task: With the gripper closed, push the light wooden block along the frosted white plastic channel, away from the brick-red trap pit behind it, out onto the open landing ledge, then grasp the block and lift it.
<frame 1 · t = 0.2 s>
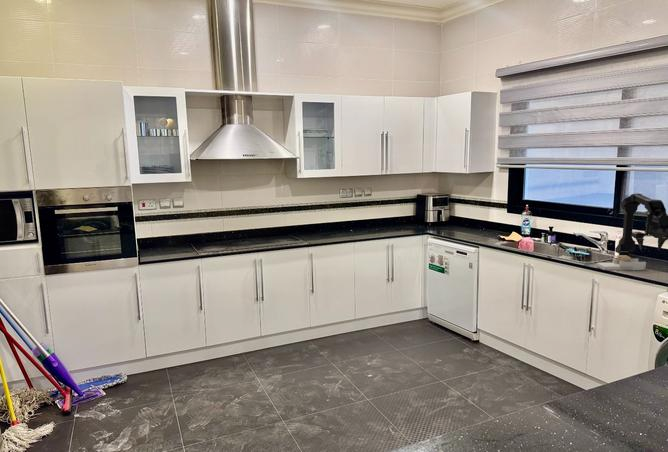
hand: (650, 249, 255), 14 cm above the counter, tool pointing down, fingers open, 9 cm apart
wooden block: (623, 264, 271), point 2 cm above the counter, touching trap channel
trap channel: (624, 267, 271), on the counter
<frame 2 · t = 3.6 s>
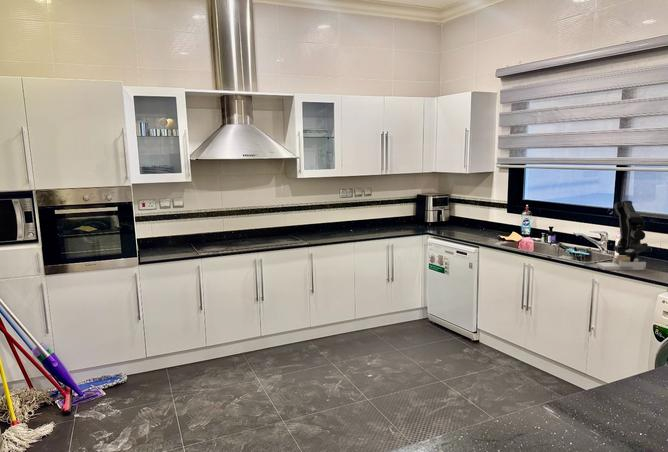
hand: (631, 262, 270), 3 cm above the counter, tool pointing down, fingers closed
wooden block: (622, 264, 271), point 2 cm above the counter, touching gripper, trap channel
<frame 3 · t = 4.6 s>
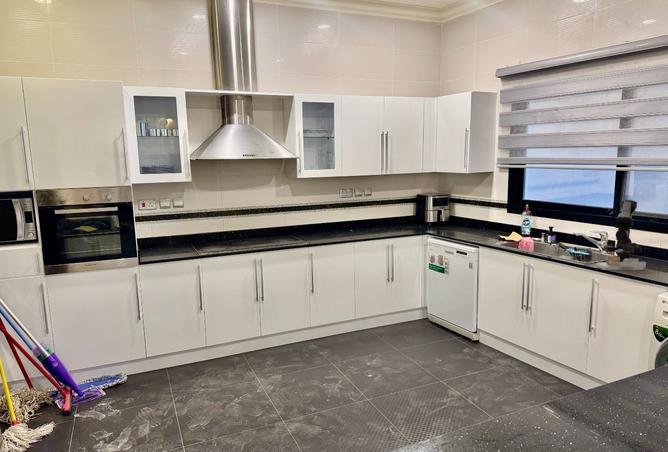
hand: (621, 262, 271), 3 cm above the counter, tool pointing down, fingers closed
wooden block: (612, 264, 271), point 2 cm above the counter, touching gripper
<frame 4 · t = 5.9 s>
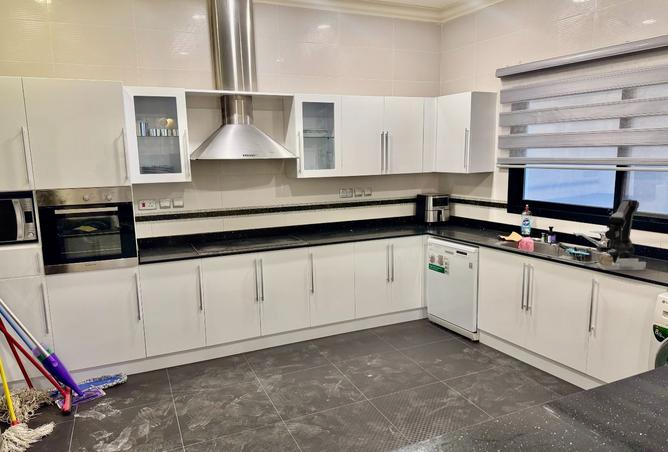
hand: (614, 262, 271), 3 cm above the counter, tool pointing down, fingers closed
wooden block: (605, 264, 272), point 2 cm above the counter, touching gripper, trap channel
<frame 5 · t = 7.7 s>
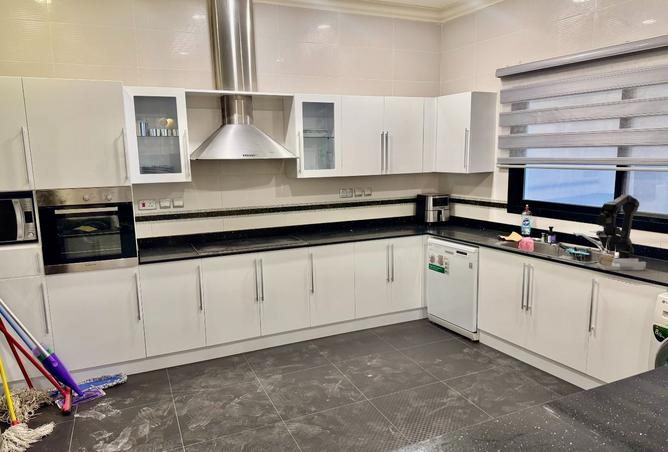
hand: (607, 249, 270), 11 cm above the counter, tool pointing down, fingers open, 7 cm apart
wooden block: (605, 264, 272), point 2 cm above the counter, touching trap channel
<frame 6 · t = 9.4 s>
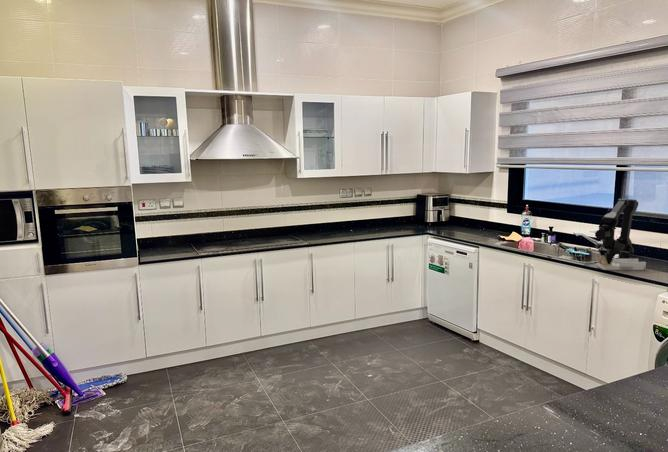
hand: (606, 262, 272), 3 cm above the counter, tool pointing down, fingers closed on wooden block, 5 cm apart
wooden block: (605, 264, 272), point 2 cm above the counter, touching gripper, trap channel
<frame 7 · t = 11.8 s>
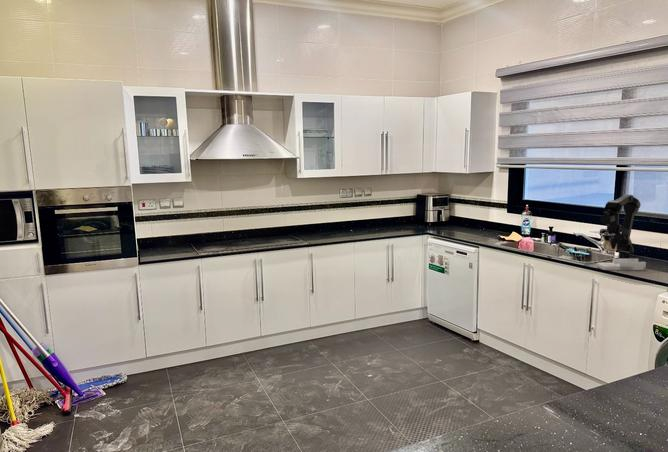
hand: (611, 248, 271), 12 cm above the counter, tool pointing down, fingers closed on wooden block, 5 cm apart
wooden block: (609, 249, 271), point 11 cm above the counter, touching gripper
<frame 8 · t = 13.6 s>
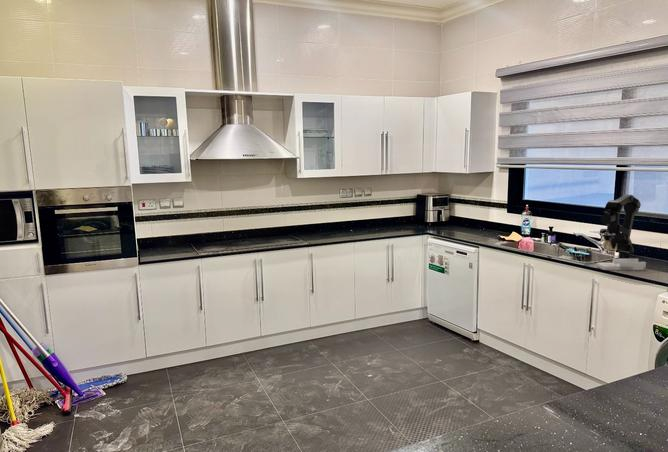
hand: (611, 247, 271), 12 cm above the counter, tool pointing down, fingers closed on wooden block, 5 cm apart
wooden block: (610, 249, 271), point 11 cm above the counter, touching gripper
at the end: the gripper is holding wooden block; wooden block inside the target area (1.6 cm from its centre), point 11.0 cm above the counter; wooden block touching gripper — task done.
